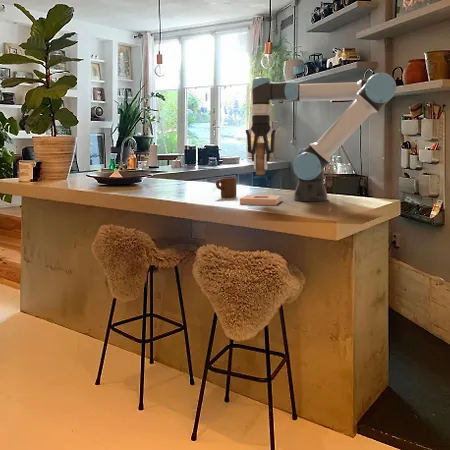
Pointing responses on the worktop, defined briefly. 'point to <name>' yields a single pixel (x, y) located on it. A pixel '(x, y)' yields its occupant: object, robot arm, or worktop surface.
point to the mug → (227, 187)
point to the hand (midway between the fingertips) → (260, 168)
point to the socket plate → (261, 199)
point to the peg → (260, 158)
